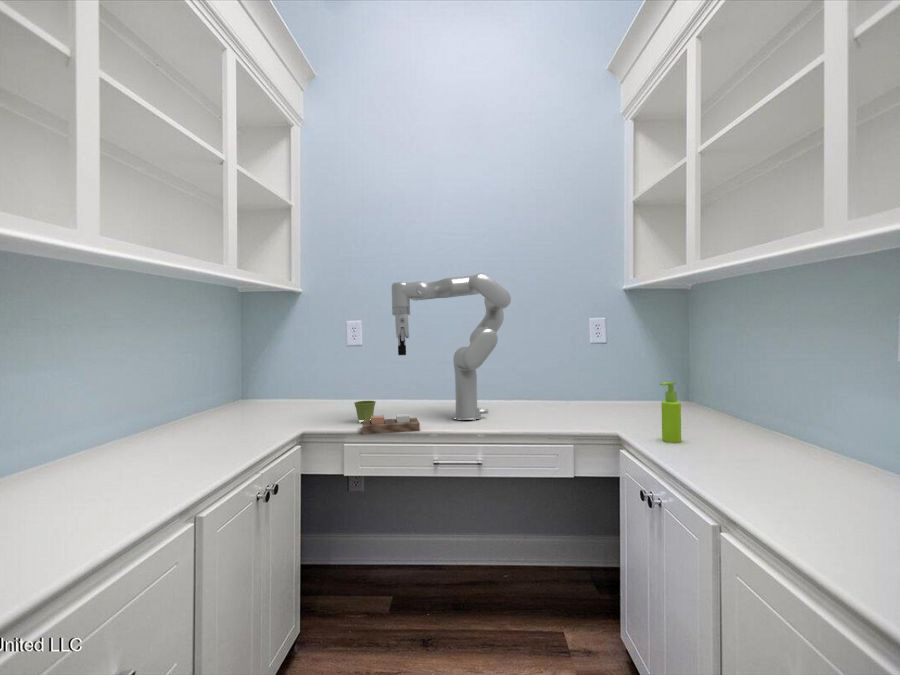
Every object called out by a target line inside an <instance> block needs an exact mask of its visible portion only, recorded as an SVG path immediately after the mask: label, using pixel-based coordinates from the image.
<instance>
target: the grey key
mask: <svg viewBox="0 0 900 675" xmlns="http://www.w3.org/2000/svg"><path fill="white" fill-rule="evenodd" d="M410 418H411V416H410V414H409V413H400V414H399V413H398V414H396V418H395V419H396V423H406V422H410Z"/></svg>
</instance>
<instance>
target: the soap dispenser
mask: <svg viewBox="0 0 900 675" xmlns="http://www.w3.org/2000/svg"><path fill="white" fill-rule="evenodd" d="M659 385H660V386H664V387H665V386H667V390H666V391H665V394H664V395H665V400H663V401H661V440H663V441H662V442H664V441H665V442H666V443H669V442H671V443H670V444H678V443H679V442H680V443H682V403H681V402H680V401H678V400H677V399H678V397H677V391H675V387H674V386H675V385H677V382H675V381H665V382H661V383H660V384H659ZM665 442H664V443H665Z"/></svg>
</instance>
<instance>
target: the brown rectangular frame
mask: <svg viewBox="0 0 900 675" xmlns="http://www.w3.org/2000/svg"><path fill="white" fill-rule="evenodd" d="M361 424H362V427H361V428H362V430H361V431H362V435H372V434H390V433H393V434H394V433H407V432H420V431H421V430H420V429H421V428H420V426H421V424H420V422H419V420H418V418H417V417H410V422H406V423H396V418H384V424H371V420H364V421H363V423H361Z"/></svg>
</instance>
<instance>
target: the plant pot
mask: <svg viewBox="0 0 900 675" xmlns="http://www.w3.org/2000/svg"><path fill="white" fill-rule="evenodd" d="M376 403H377V401H376V400H359V401H355V402H353V404H354V407H355V410H356V416H357V420H358V419H359V420H370V419H371V416H374V412H375V406H376Z"/></svg>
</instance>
